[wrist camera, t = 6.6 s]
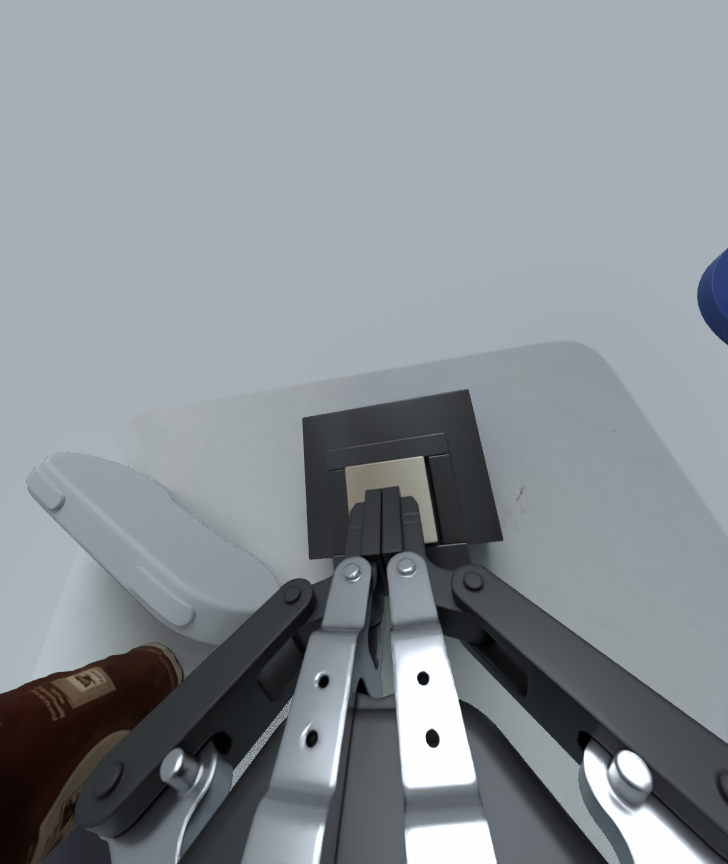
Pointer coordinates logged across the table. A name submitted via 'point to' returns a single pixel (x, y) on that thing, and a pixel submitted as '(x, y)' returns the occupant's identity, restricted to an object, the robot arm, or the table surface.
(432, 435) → the key block
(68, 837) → the notebook
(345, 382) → the table surface
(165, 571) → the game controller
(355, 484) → the ivory key
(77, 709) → the coffee cup
